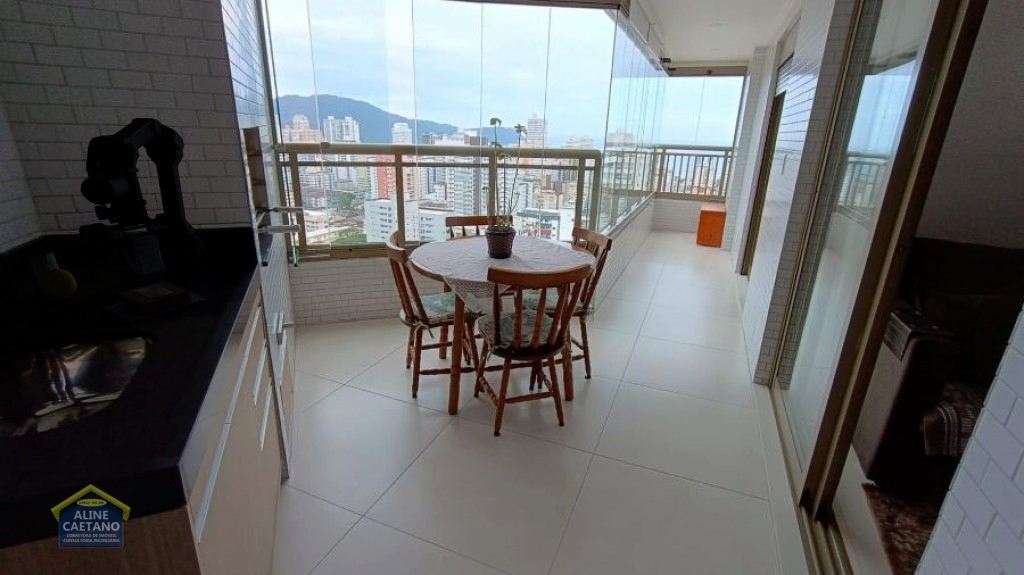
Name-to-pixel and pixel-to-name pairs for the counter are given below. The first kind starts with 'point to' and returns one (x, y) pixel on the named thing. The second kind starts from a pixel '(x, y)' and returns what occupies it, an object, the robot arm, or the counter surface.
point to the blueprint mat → (135, 316)
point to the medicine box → (144, 252)
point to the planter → (42, 266)
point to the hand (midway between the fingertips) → (145, 260)
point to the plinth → (154, 297)
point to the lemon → (60, 283)
